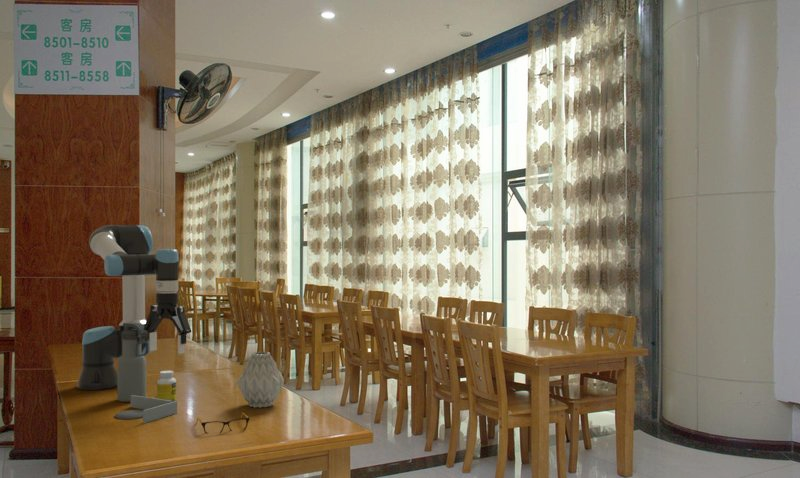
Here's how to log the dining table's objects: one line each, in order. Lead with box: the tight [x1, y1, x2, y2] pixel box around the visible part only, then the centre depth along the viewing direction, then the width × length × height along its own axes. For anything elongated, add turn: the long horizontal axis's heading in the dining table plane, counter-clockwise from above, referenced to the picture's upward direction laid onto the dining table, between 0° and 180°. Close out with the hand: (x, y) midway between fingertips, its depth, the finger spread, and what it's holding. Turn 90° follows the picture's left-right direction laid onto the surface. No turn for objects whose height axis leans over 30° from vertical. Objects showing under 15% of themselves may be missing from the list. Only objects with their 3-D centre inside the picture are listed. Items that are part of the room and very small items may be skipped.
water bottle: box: [117, 322, 149, 403], centre depth 249 cm, size 10×10×28 cm
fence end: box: [142, 400, 178, 424], centre depth 223 cm, size 1×14×4 cm, turn 153°
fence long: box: [130, 395, 173, 410], centre depth 233 cm, size 19×1×4 cm, turn 64°
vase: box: [237, 351, 285, 409], centre depth 240 cm, size 16×16×18 cm
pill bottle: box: [156, 370, 177, 402], centre depth 241 cm, size 6×6×12 cm
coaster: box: [114, 409, 144, 420], centre depth 226 cm, size 11×11×1 cm
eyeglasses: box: [196, 412, 250, 434], centre depth 213 cm, size 14×14×4 cm
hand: (167, 352), depth 241 cm, fingers open, 13 cm apart
